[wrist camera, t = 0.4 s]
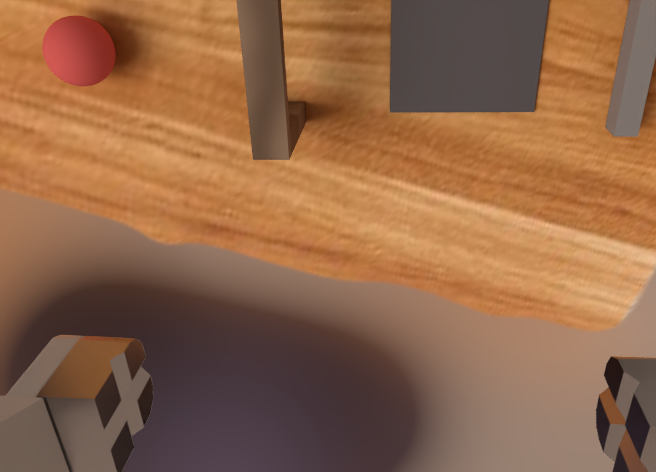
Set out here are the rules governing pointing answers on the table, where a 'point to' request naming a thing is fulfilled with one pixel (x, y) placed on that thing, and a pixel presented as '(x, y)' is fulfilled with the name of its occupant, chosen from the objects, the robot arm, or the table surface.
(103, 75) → the ball
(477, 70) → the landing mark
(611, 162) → the table surface
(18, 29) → the table surface
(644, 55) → the wall
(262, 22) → the bridge
